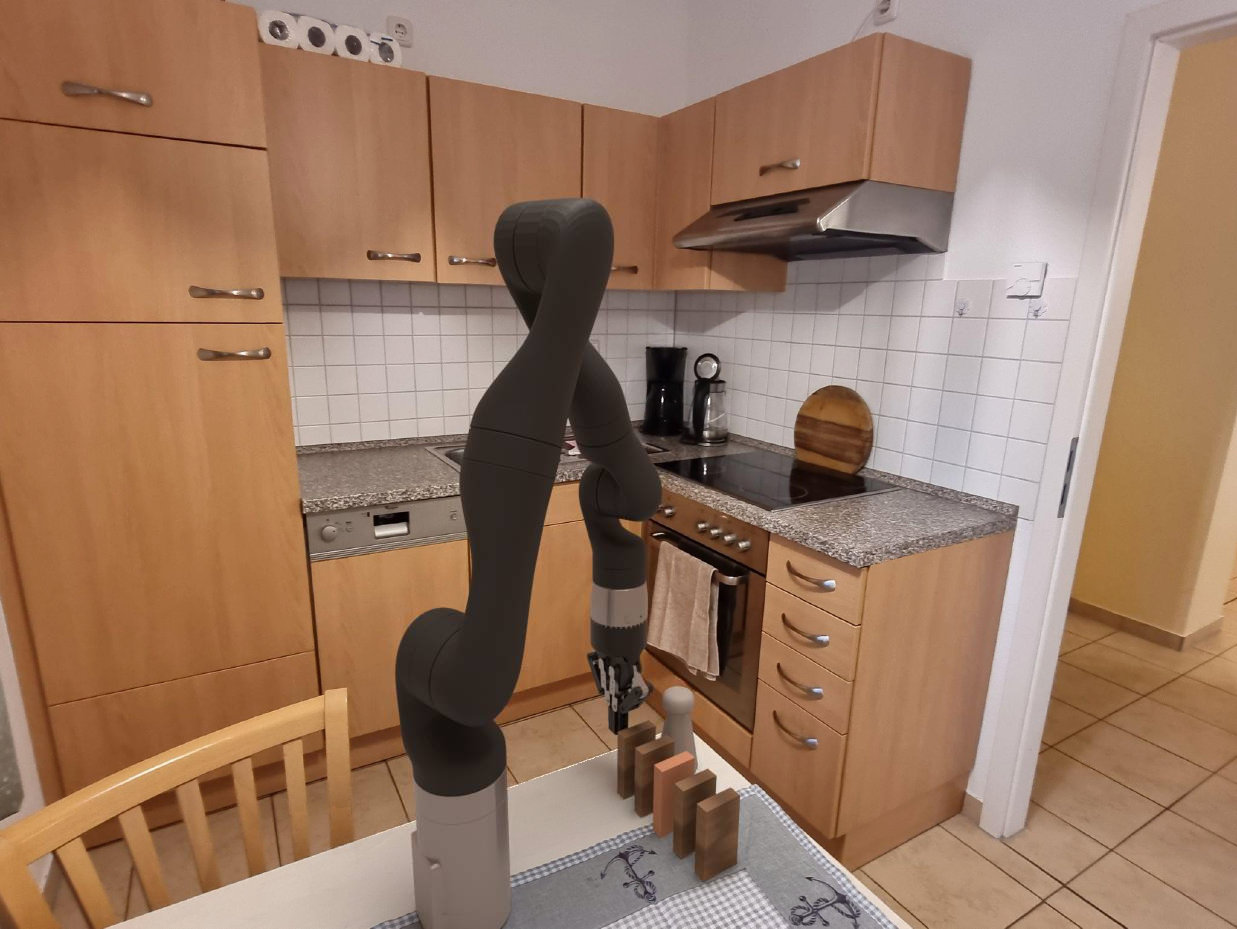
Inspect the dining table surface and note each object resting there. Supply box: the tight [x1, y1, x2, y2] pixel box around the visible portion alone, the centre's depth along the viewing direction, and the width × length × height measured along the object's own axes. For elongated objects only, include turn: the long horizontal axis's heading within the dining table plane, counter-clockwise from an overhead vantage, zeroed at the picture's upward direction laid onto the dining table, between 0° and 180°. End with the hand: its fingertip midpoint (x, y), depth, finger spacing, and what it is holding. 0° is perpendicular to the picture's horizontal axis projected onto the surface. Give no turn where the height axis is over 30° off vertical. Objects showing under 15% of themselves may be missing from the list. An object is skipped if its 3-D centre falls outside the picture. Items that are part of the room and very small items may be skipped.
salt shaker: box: [660, 685, 699, 775], centre depth 93 cm, size 6×6×13 cm
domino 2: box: [633, 735, 675, 819], centre depth 88 cm, size 5×2×9 cm, turn 123°
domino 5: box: [694, 786, 741, 883], centre depth 78 cm, size 5×2×9 cm, turn 123°
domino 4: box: [672, 768, 718, 860], centre depth 81 cm, size 5×2×9 cm, turn 123°
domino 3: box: [652, 751, 695, 838], centre depth 85 cm, size 5×2×9 cm, turn 124°
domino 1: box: [616, 719, 657, 801], centre depth 91 cm, size 5×2×9 cm, turn 123°
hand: (617, 730), depth 94 cm, fingers closed
